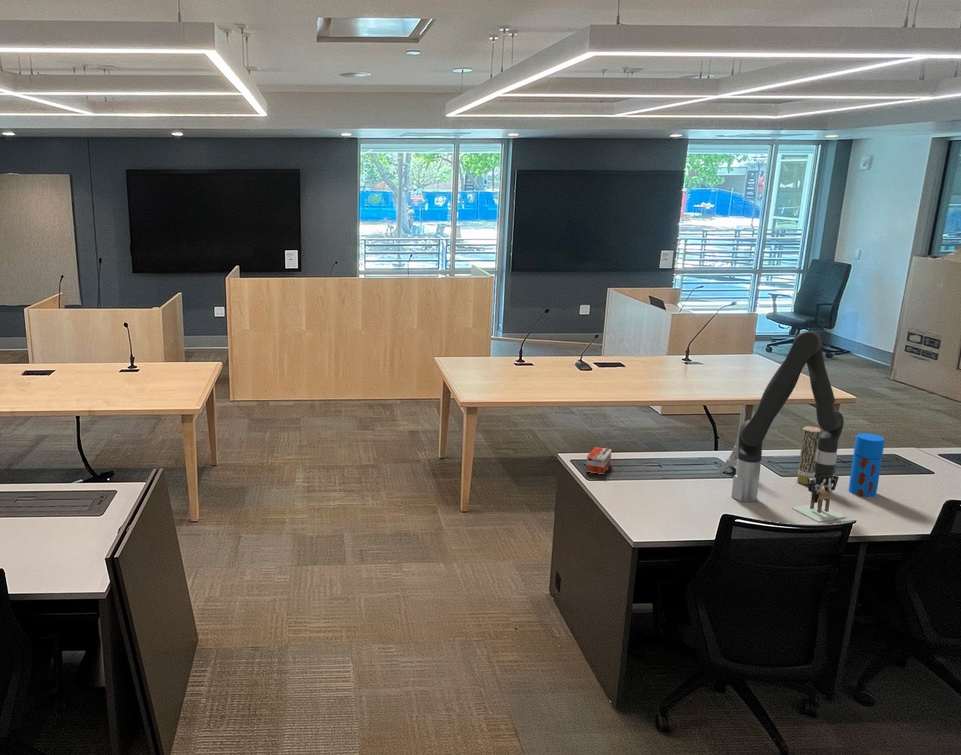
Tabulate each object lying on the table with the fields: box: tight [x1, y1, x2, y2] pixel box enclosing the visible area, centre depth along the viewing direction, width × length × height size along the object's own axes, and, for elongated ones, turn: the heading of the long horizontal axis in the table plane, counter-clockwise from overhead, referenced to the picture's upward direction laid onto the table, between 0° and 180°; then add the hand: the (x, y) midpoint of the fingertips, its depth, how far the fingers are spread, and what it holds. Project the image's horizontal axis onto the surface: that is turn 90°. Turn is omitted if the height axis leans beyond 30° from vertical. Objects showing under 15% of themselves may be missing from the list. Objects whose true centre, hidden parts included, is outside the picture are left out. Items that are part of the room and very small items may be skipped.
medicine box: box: [585, 446, 612, 474], centre depth 346 cm, size 15×8×8 cm, turn 157°
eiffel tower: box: [716, 408, 747, 474], centre depth 344 cm, size 13×13×30 cm
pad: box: [791, 503, 847, 523], centre depth 303 cm, size 14×14×1 cm
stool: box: [809, 487, 832, 513], centre depth 301 cm, size 5×5×8 cm
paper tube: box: [797, 425, 822, 486], centre depth 332 cm, size 7×7×25 cm
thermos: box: [848, 432, 885, 498], centre depth 322 cm, size 11×11×25 cm
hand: (820, 501), depth 302 cm, fingers closed on stool, 5 cm apart
